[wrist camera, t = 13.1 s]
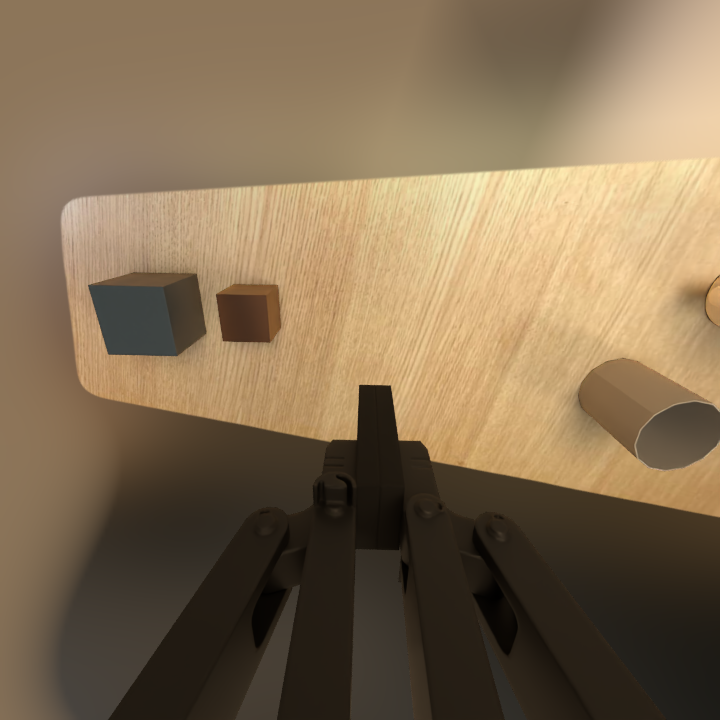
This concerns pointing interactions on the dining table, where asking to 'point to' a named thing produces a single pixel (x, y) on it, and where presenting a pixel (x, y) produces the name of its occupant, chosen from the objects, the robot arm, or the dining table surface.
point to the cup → (651, 414)
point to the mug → (714, 302)
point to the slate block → (149, 313)
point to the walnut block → (249, 313)
